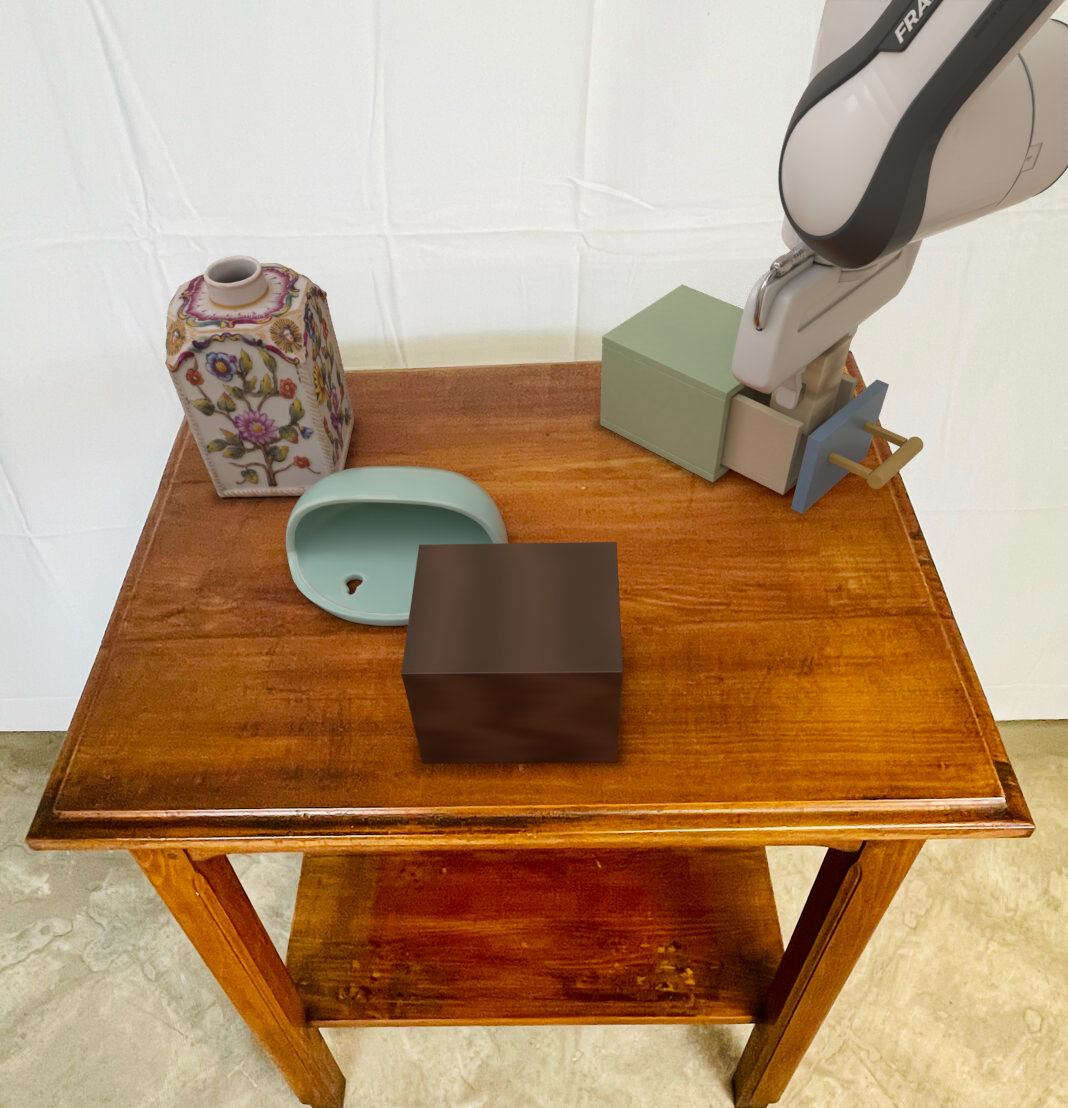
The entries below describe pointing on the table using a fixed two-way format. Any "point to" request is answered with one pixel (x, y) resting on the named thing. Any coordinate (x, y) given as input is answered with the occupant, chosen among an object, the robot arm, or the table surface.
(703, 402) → the cabinet
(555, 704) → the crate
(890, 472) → the drawer
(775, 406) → the block
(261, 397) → the decorative jar
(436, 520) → the planter
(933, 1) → the robot arm
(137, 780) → the table surface
